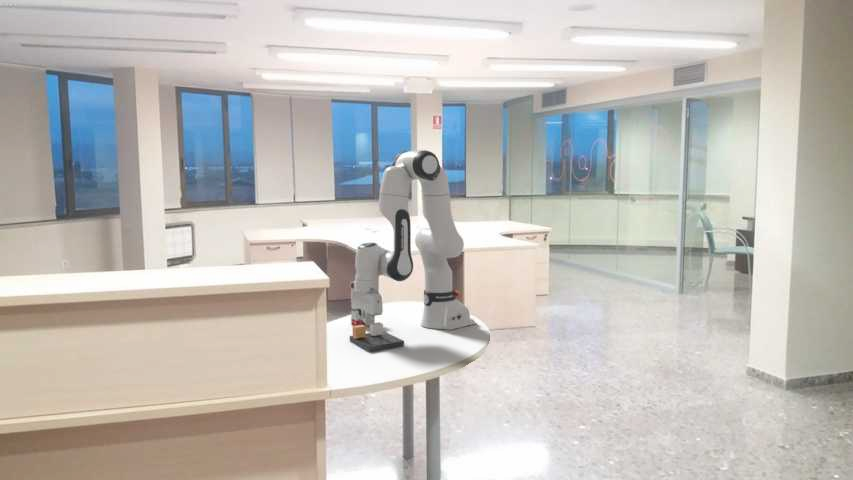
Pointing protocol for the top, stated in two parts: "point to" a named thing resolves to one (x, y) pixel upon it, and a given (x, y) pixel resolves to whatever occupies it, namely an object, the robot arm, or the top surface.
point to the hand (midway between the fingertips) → (366, 322)
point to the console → (377, 342)
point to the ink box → (359, 317)
